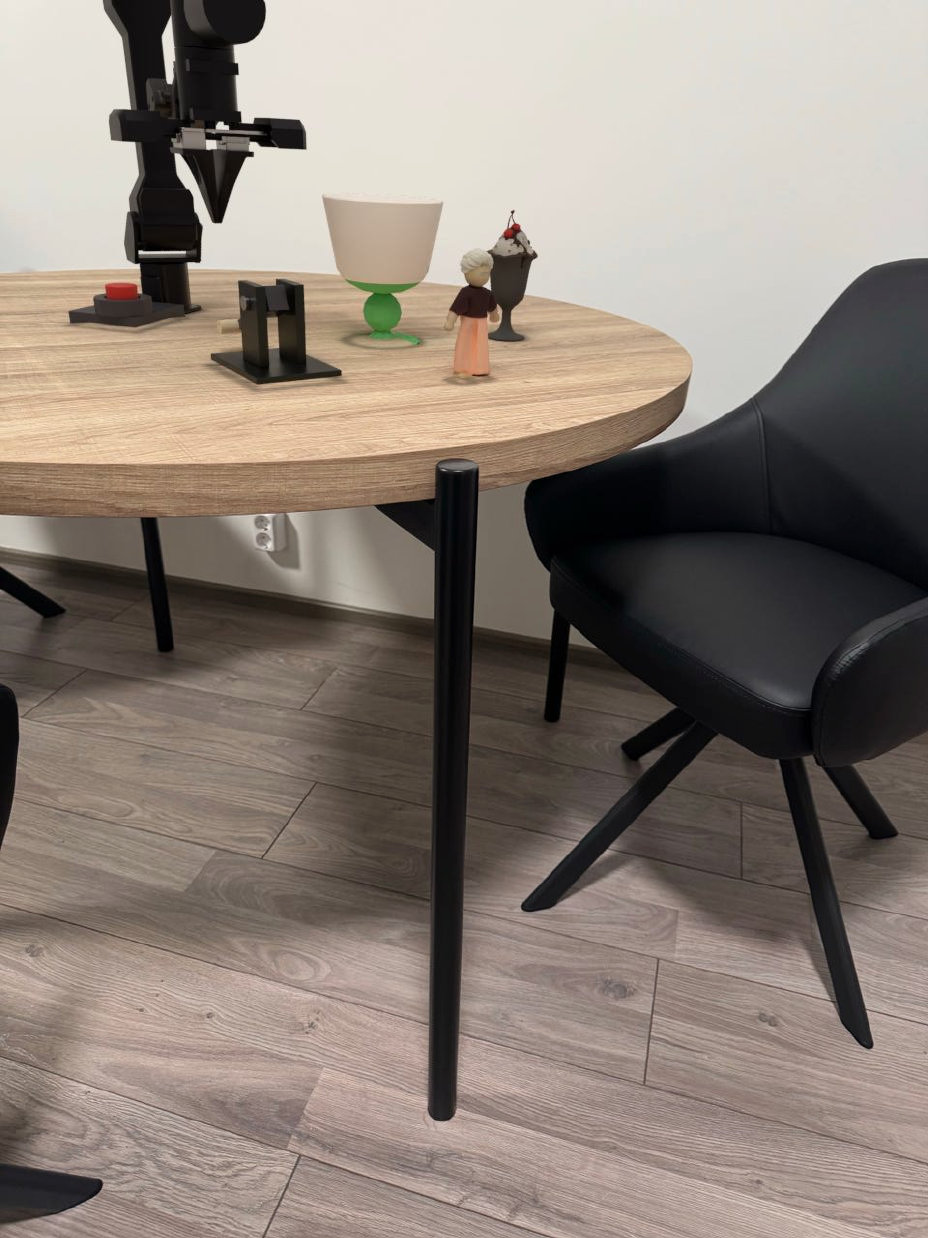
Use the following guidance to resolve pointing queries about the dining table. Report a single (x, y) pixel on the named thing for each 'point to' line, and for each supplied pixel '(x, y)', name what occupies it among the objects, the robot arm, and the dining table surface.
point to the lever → (274, 307)
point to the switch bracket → (256, 355)
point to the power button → (121, 291)
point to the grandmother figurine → (473, 315)
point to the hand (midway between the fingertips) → (217, 222)
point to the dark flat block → (125, 311)
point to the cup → (382, 249)
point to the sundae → (510, 276)
